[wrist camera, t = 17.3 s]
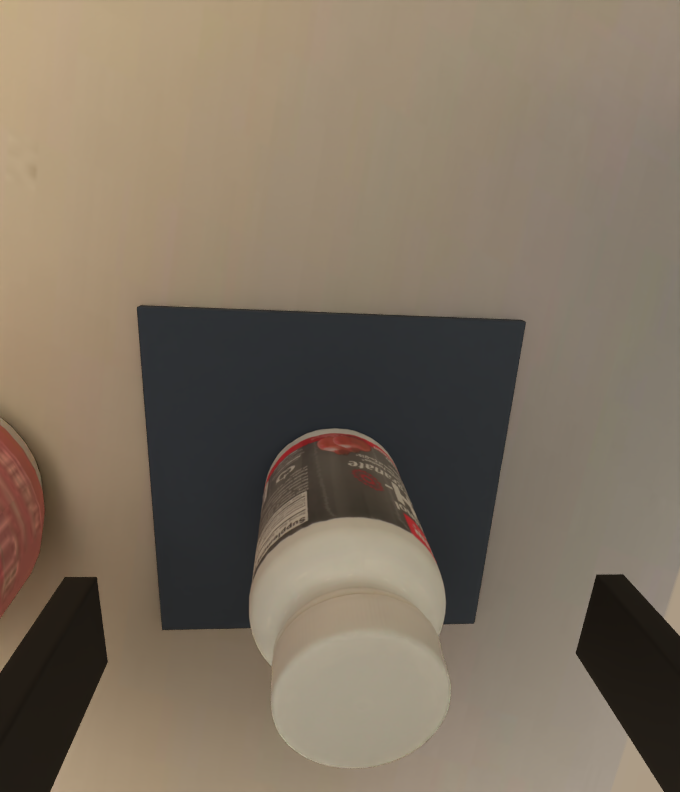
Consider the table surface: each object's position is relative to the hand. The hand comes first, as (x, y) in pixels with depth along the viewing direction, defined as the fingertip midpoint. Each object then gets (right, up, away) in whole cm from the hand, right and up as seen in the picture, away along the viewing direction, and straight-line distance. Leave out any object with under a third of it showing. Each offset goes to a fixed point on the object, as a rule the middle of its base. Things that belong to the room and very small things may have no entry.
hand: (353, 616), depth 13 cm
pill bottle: (-1, +2, +7) cm, 7 cm away
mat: (-1, +2, +7) cm, 8 cm away
